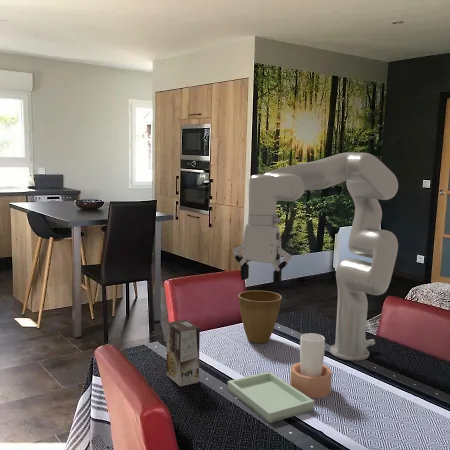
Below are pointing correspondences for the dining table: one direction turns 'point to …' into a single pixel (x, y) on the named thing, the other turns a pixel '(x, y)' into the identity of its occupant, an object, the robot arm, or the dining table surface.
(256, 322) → the plant pot
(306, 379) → the holder cup
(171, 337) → the coffee box
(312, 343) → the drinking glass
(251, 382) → the tray
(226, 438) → the dining table surface
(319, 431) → the dining table surface
